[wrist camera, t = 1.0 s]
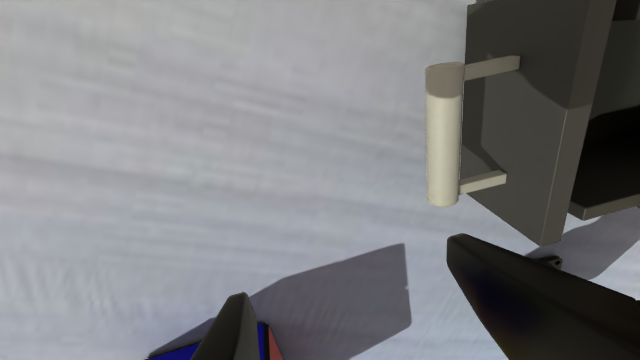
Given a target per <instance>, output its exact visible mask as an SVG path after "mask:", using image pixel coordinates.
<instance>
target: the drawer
mask: <svg viewBox="0 0 640 360" xmlns="http://www.w3.org/2000/svg"><path fill="white" fill-rule="evenodd" d="M425 75H426V167H427V200H428V202H429V203H430V204H432V205H435V206H439V207H448V206H452V205H454V204H456V203H457V202H458V195H461V194H465V193H466V194H468V195H469V196H470V197H472V198H473V199H475V200H476V201H477V202H479V203H480V204H482V205H483V206H484V207H486V208H487V209H489V210H490V211H491V212H493V213H494V214H495V215H497V216H498V217H500V218H501V219H502V220H504V221H505V222H507V223H508V224H509V225H511V226H512V227H514V228H515V229H516V230H518V231H519V232H521V233H522V234H523V235H525V236H526V237H527V238H529V239H530V240H532V241H533V242H534V243H536V244H537V245H539V246H544V245H548V244H551V243H555V242H558V241H561V238H562V233H563V229H564V225H565V220H566V216H567V212H568V213H570V214H571V215H573V216H575V217H577V218H579V219H581V220H587V219H591V218H595V217H598V216H602V215H606V214H609V213H613V212H616V211H620V210H624V209H627V208H631V207H634V206H638V205H640V0H494V1H488V2H482V3H477V4H472V5H468V7H467V30H466V53H465V65H464V64H463V63H458V62H453V63H442V64H436V65H432V66H429V67H427V68H426V69H425ZM463 81H464V99H463ZM462 101H463V122H462ZM461 124H462V144H461ZM460 148H461V167H460ZM459 171H460V180H459Z"/></svg>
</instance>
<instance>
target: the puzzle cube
mask: <svg viewBox="0 0 640 360" xmlns="http://www.w3.org/2000/svg"><path fill="white" fill-rule="evenodd" d="M257 331H258V342H259V354H260V360H283V358H282V356H281V353H280V351H279V349H278V346H277V344H276V342H275V339H274V337H273V334H272V332H271V330H270V327H269V325H268V324H266V323H262V324H258V325H257ZM200 343H201V342H200ZM200 343H197V344H194V345H190V346H187V347H184V348H181V349H178V350H174V351H171V352H168V353H165V354H162V355H158V356H155V357H152V358H149V359H146V360H190V359H191V358H192V356H193V354H194V353H195V351H196V349H197V348H198V346H199V345H200Z"/></svg>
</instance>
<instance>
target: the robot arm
mask: <svg viewBox="0 0 640 360" xmlns="http://www.w3.org/2000/svg"><path fill="white" fill-rule="evenodd" d="M447 265H448V267H449V270H450V271H451V273H452V275H453V276H454V278H455V280H456V281H457V283H458V285H459V286H460V288H461V290H462V291H463V293H464V295H465V296H466V298H467V300H468V301H469V303H470V305H471V306H472V308H473V310H474V311H475V313H476V315H477V316H478V318H479V319H480V321H481V322H482V324H483V325H484V327H485V328H486V329H487V331H488V332H489V333H490V335H491V336H492V338H493V339H494V340H495V342H496V343H497V344H498V346H499V347H500V348H501V350H502V351H503V352H504V354H505V355H506V356H507V358H508V359H509V360H640V300H637V301H636V300H635V299H634V298H632V297H630V296H627V295H624V294H622V293H619V292H617V291H614V290H611V289H609V288H606V287H603V286H601V285H598V284H596V283H593V282H590V281H588V280H585V279H582V278H580V277H577V276H575V275H572V274H569V273H567V272H564V271H561V270H560V269H561V265H562V259H561V258H560V257H559V256H552V257H548V258H545V259H541V260H538V261H535V260H533V259H530V258H527V257H525V256H522V255H520V254H517V253H514V252H512V251H509V250H506V249H504V248H501V247H499V246H496V245H493V244H491V243H488V242H485V241H483V240H480V239H478V238H475V237H472V236H470V235H467V234H464V233H461V234H457V235H453V236H450V237H449V238H448V240H447ZM190 360H260V354H259V342H258V331H257V321H256V316H255V313H254V310H253V308H252V305H251V302H250V300H249V297H248V295H247V294H246V293H245V292H242V293H239V294H235V295H231V296H230V297H229V298H228V299H227V301H226V302H225V304H224V305H223V307H222V309H221V310H220V312H219V314H218V315H217V317H216V318H215V320H214V322H213V323H212V325H211V327H210V328H209V330H208V331H207V333H206V335H205V336H204V338H203V340H202V341H201V343H200V345H199V346H198V348H197V349H196V351H195V353H194V354H193V356H192V358H191V359H190Z"/></svg>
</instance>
